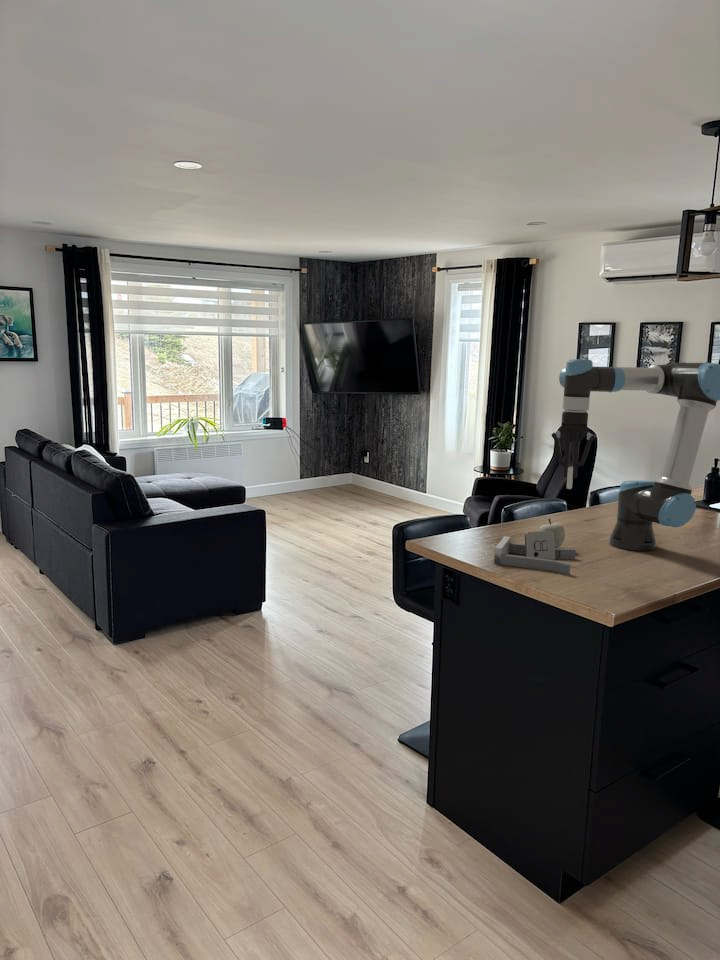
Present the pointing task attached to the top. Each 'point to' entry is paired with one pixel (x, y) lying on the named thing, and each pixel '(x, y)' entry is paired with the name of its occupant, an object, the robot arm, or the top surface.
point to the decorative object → (555, 532)
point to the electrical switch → (540, 544)
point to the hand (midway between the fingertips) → (569, 488)
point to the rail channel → (528, 562)
